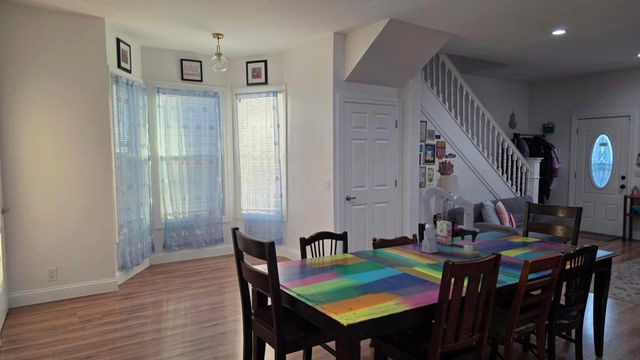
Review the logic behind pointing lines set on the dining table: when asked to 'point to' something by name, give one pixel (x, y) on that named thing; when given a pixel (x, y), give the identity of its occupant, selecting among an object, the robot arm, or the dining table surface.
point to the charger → (468, 249)
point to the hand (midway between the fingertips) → (467, 241)
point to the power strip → (461, 253)
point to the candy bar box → (444, 232)
